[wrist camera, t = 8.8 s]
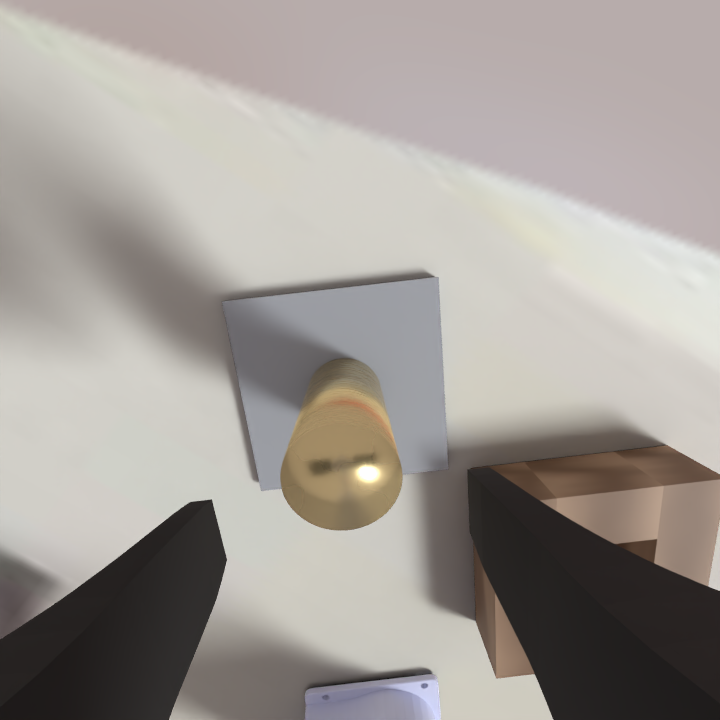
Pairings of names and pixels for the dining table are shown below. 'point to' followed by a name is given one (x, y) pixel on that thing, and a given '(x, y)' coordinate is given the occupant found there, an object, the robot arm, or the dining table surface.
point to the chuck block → (612, 522)
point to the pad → (334, 341)
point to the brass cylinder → (342, 450)
